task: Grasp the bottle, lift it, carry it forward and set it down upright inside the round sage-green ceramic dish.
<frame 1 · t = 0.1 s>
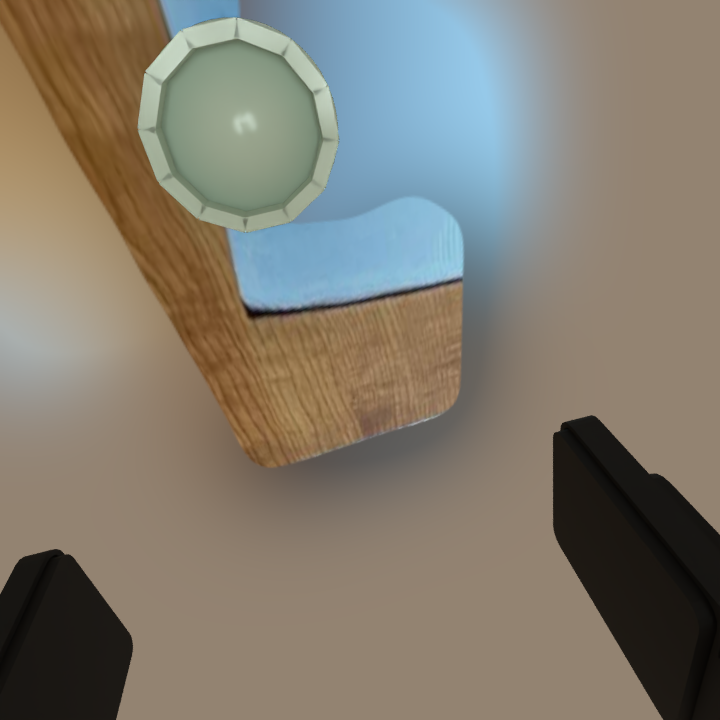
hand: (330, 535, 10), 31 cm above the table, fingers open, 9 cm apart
dish: (243, 131, 34), on the table
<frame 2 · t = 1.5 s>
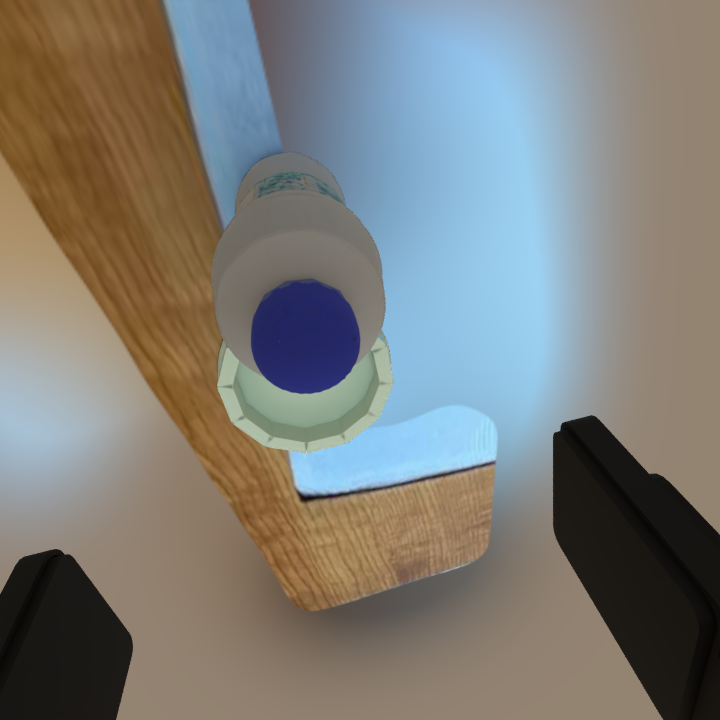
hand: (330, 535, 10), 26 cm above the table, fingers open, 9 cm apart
dish: (306, 367, 38), on the table
bottle: (289, 200, 32), on the table
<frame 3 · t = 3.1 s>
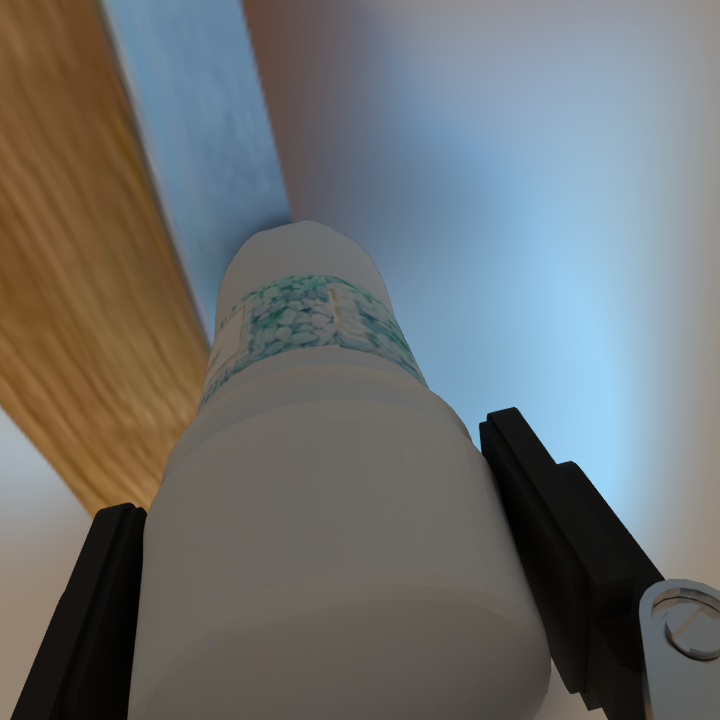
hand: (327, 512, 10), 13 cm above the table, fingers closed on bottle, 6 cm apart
bottle: (301, 283, 22), on the table, touching gripper
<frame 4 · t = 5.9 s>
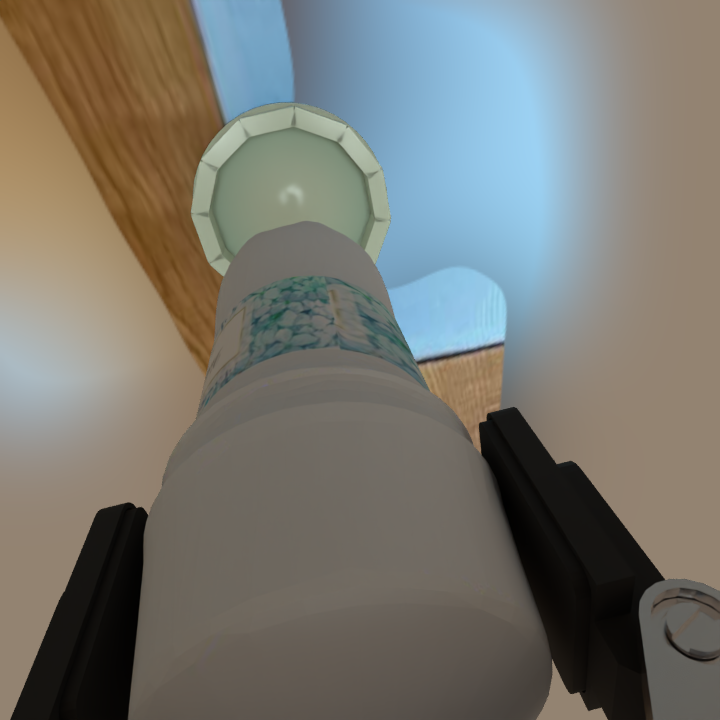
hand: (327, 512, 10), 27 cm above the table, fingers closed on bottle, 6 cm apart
dish: (292, 208, 34), on the table
bottle: (301, 284, 22), point 14 cm above the table, touching gripper
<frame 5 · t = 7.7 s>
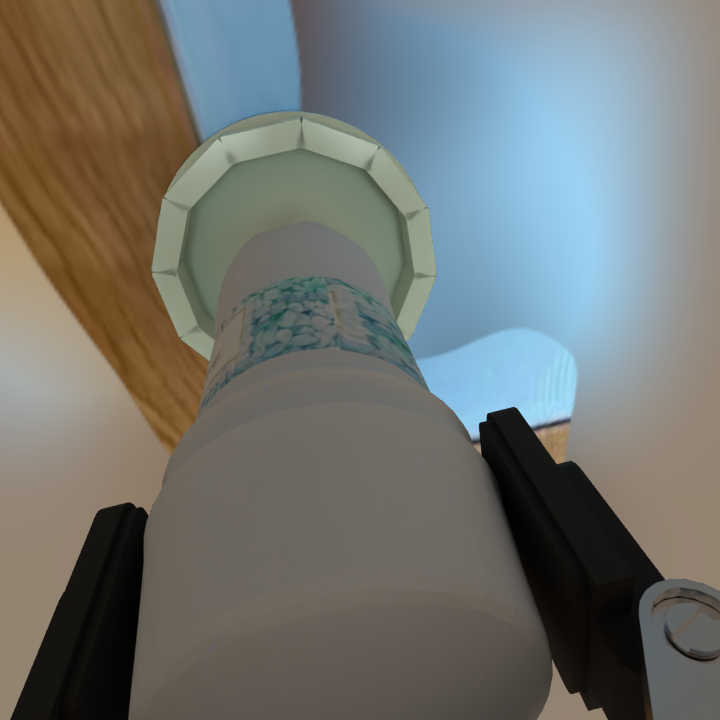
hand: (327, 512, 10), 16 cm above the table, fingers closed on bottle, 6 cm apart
dish: (298, 256, 24), on the table
bottle: (301, 284, 22), point 3 cm above the table, touching gripper
when the fingers open (14 cm above the table, at t = 8.8 s): bottle stays where it is, resting on dish.
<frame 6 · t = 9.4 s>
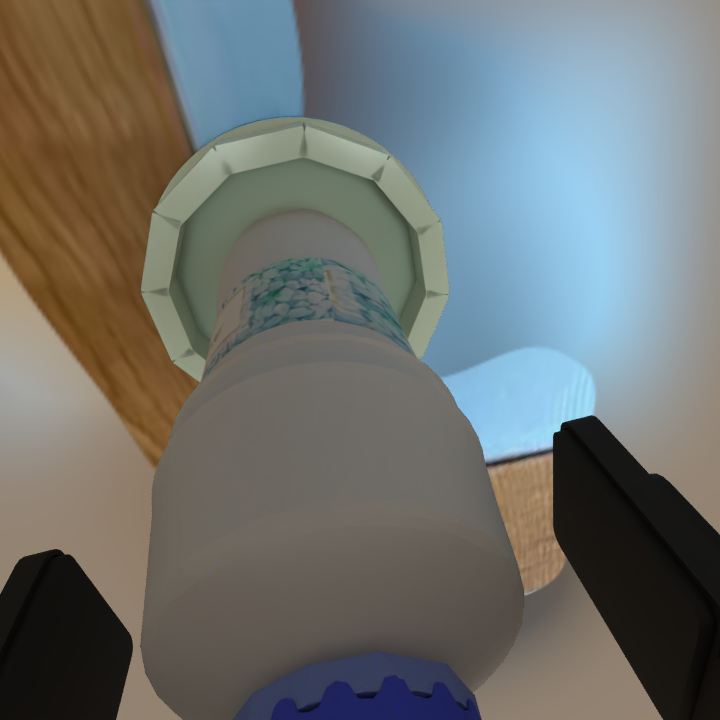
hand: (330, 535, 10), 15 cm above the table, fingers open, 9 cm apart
dish: (300, 273, 23), on the table
bottle: (299, 271, 22), resting on dish
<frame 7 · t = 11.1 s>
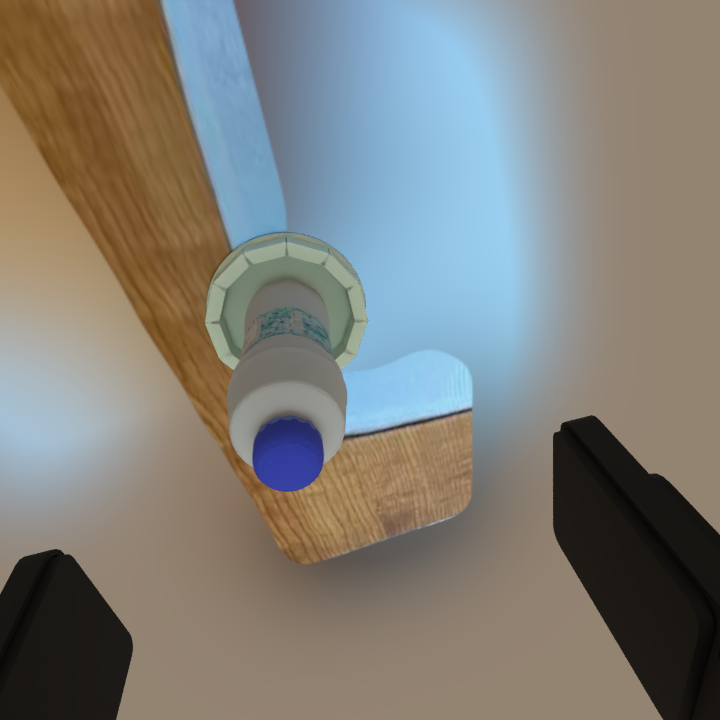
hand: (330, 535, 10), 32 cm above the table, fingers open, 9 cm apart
dish: (287, 310, 41), on the table
bottle: (287, 309, 41), resting on dish
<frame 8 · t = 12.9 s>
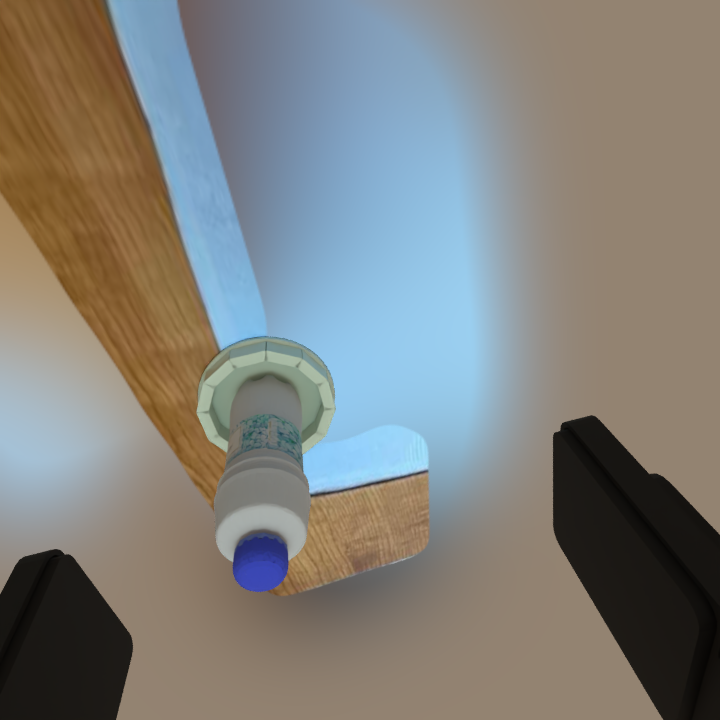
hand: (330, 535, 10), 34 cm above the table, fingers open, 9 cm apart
dish: (267, 396, 48), on the table
bottle: (267, 396, 48), resting on dish
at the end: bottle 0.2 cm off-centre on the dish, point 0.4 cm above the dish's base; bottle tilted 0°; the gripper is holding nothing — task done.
